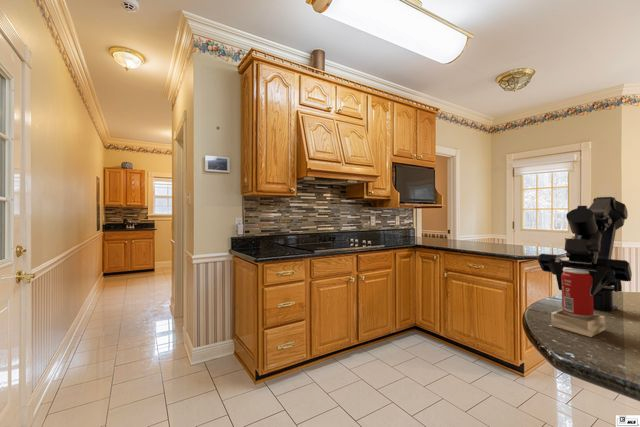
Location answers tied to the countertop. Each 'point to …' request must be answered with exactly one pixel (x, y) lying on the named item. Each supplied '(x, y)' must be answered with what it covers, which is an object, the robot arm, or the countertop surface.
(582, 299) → the beverage can
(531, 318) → the countertop surface
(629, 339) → the countertop surface
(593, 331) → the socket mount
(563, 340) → the countertop surface
